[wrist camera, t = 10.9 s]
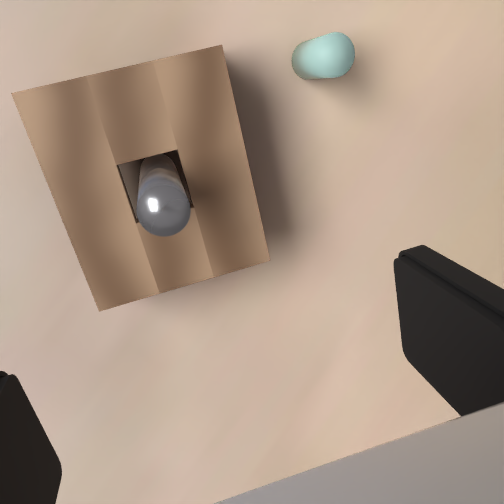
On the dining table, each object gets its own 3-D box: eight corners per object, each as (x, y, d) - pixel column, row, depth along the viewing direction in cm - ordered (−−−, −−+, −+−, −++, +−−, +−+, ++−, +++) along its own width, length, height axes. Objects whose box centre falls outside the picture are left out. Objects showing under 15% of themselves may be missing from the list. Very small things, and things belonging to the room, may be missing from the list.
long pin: (170, 149, 33) (182, 178, 21) (180, 183, 33) (196, 228, 22) (135, 158, 32) (129, 193, 21) (146, 192, 33) (146, 242, 22)
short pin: (322, 37, 32) (351, 28, 28) (327, 75, 33) (357, 72, 29) (288, 45, 32) (312, 37, 27) (295, 83, 33) (319, 81, 28)
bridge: (209, 52, 31) (221, 44, 26) (252, 237, 36) (270, 260, 31) (34, 93, 29) (11, 93, 24) (106, 279, 35) (99, 311, 30)
